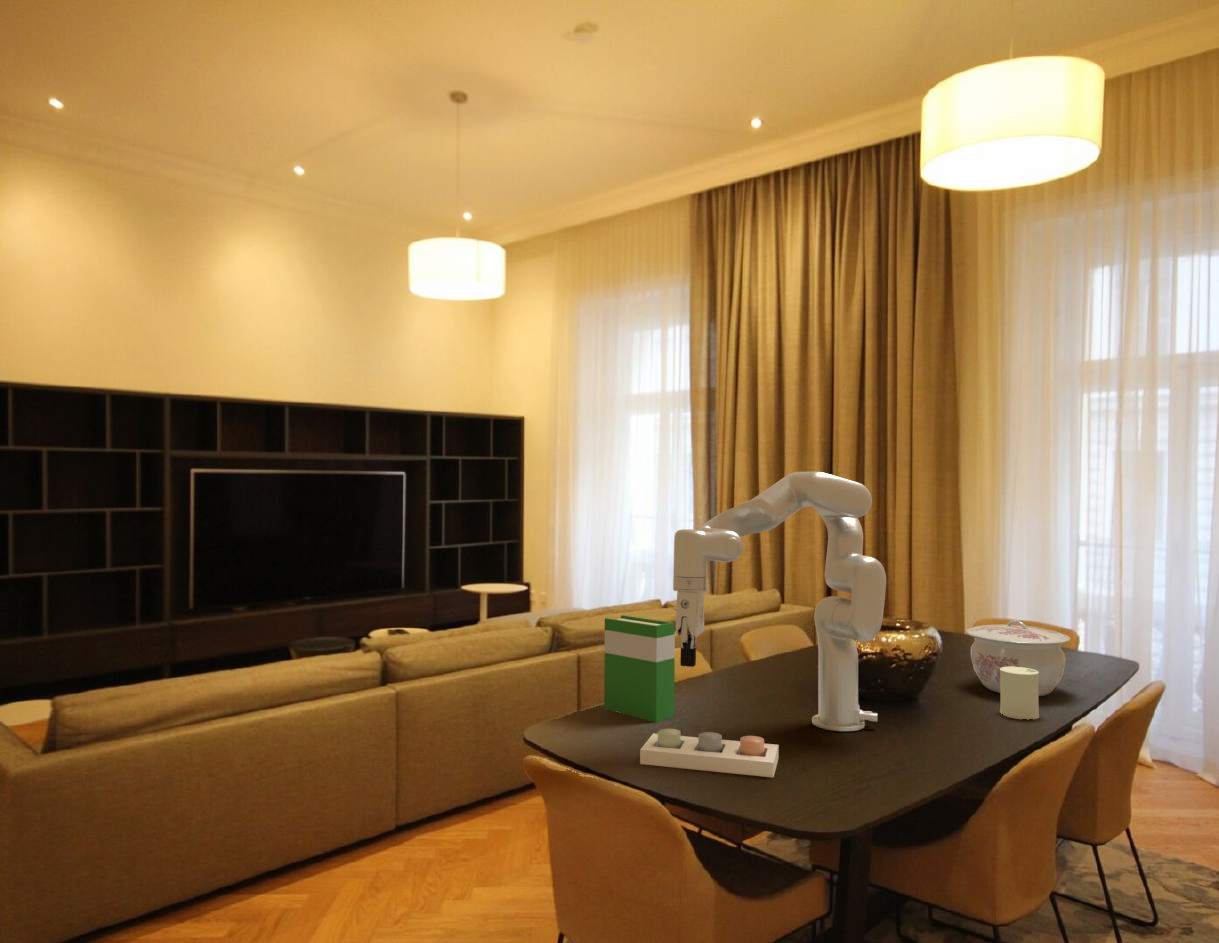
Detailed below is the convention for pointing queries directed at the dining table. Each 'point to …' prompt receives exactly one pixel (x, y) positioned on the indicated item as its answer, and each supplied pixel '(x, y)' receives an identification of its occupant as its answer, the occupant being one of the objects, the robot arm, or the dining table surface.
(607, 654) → the hardback book
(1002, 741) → the dining table surface
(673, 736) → the sage button
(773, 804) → the dining table surface
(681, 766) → the button panel
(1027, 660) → the chamber pot
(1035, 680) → the can
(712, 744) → the grey button
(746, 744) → the terracotta button
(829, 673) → the robot arm
